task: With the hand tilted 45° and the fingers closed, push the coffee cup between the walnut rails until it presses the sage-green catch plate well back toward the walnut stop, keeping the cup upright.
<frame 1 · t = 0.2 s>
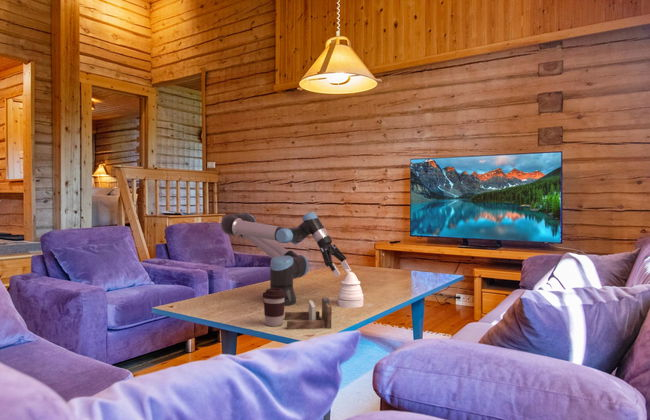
hand: (343, 273, 236), 15 cm above the table, tool tilted 35°, fingers open, 13 cm apart
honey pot: (350, 305, 234), on the table
dock: (304, 323, 199), on the table
catch plate: (312, 312, 200), point 5 cm above the table, slide at 0.0 cm
coffee cup: (274, 324, 197), on the table
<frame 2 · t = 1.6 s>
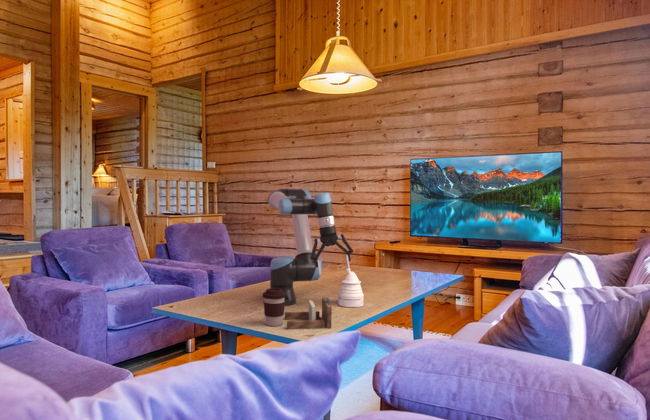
hand: (334, 271, 214), 20 cm above the table, tool pointing down, fingers open, 13 cm apart
nothing on the table moved.
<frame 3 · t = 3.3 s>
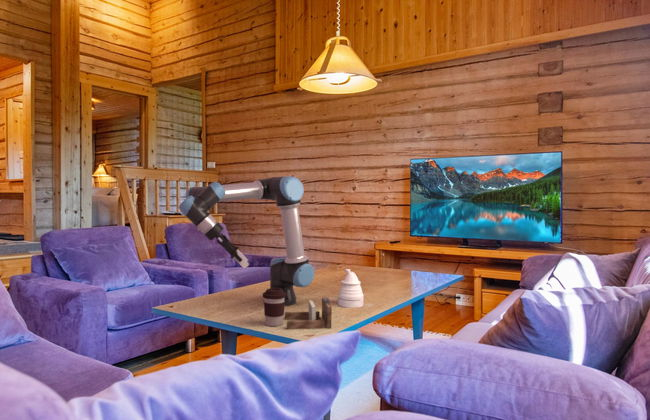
hand: (246, 264, 194), 26 cm above the table, tool tilted 45°, fingers open, 13 cm apart
nothing on the table moved.
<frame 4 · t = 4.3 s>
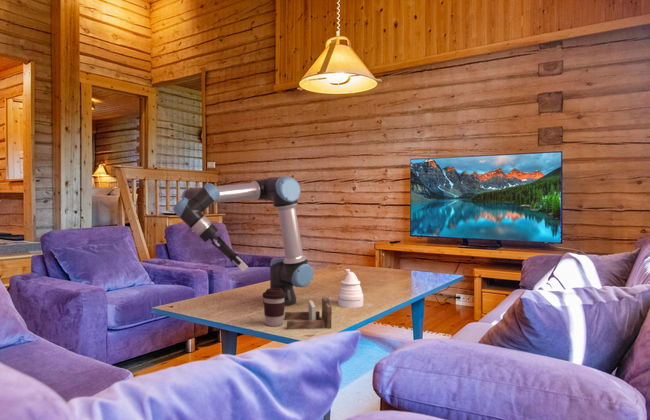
hand: (245, 269, 195), 24 cm above the table, tool tilted 45°, fingers closed
nothing on the table moved.
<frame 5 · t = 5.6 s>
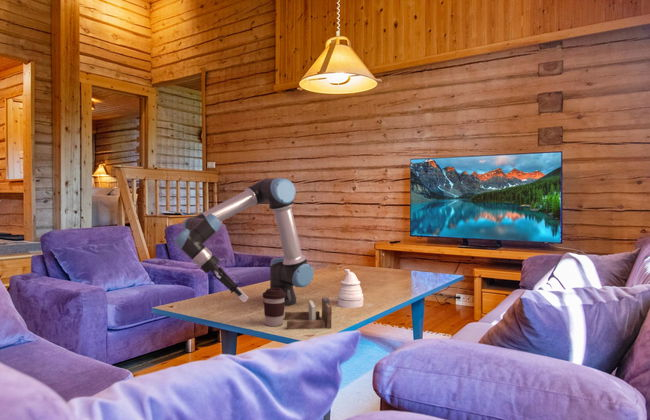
hand: (246, 300, 195), 11 cm above the table, tool tilted 45°, fingers closed
nothing on the table moved.
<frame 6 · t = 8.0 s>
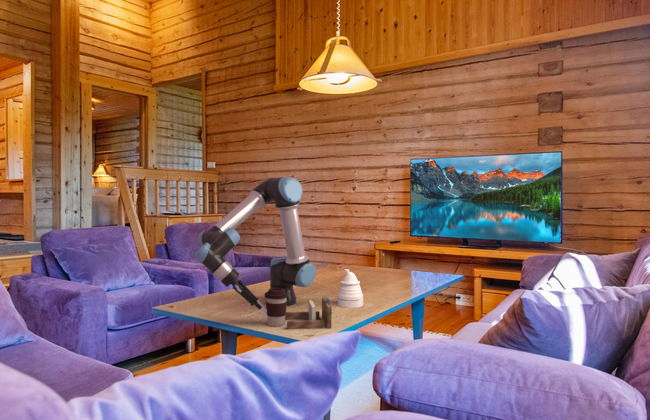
hand: (266, 313, 196), 5 cm above the table, tool tilted 45°, fingers closed
coffee cup: (276, 324, 197), on the table, touching gripper
everything else where it was.
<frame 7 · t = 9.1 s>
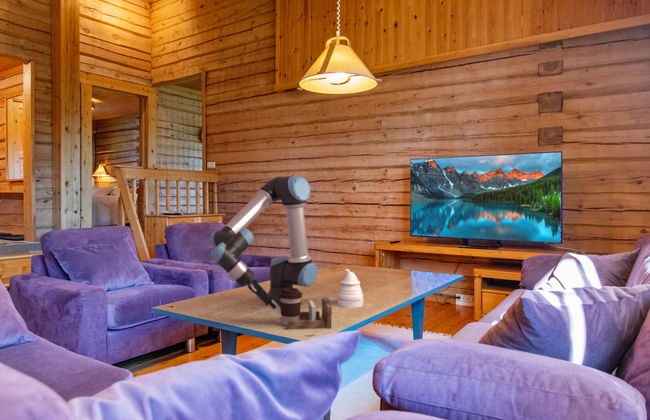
hand: (280, 312, 197), 5 cm above the table, tool tilted 45°, fingers closed
coffee cup: (290, 324, 198), on the table, touching gripper
everything else where it was.
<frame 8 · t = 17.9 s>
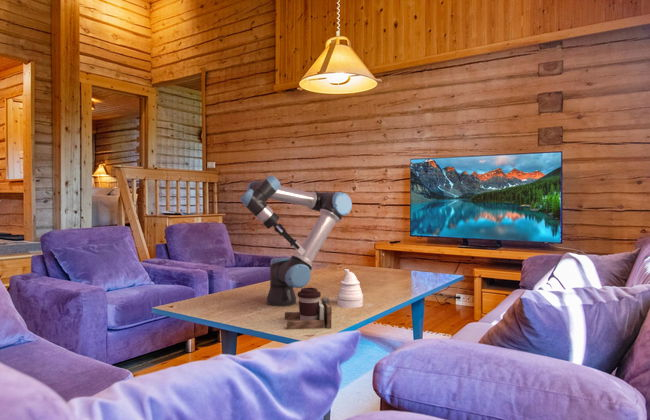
hand: (303, 253, 217), 28 cm above the table, tool tilted 45°, fingers closed
catch plate: (320, 312, 200), point 5 cm above the table, slide at 3.5 cm
coffee cup: (308, 323, 199), on the table
everything else where it was.
at the end: catch plate slide at 3.5 cm; coffee cup 1.9 cm from the dock (horizontally); coffee cup tilted 0° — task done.
